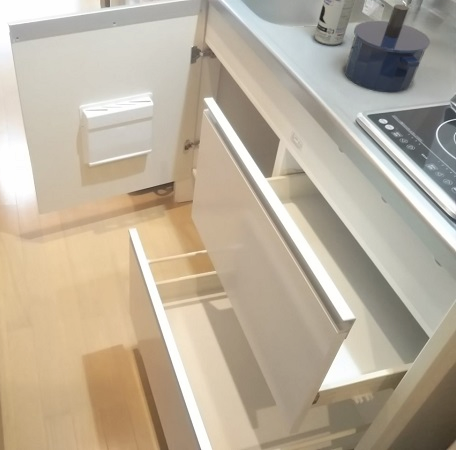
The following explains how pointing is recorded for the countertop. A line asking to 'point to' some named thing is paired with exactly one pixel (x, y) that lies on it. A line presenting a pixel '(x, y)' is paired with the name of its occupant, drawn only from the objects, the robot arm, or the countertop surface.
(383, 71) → the pot
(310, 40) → the countertop surface
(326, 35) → the spray can
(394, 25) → the pot lid
